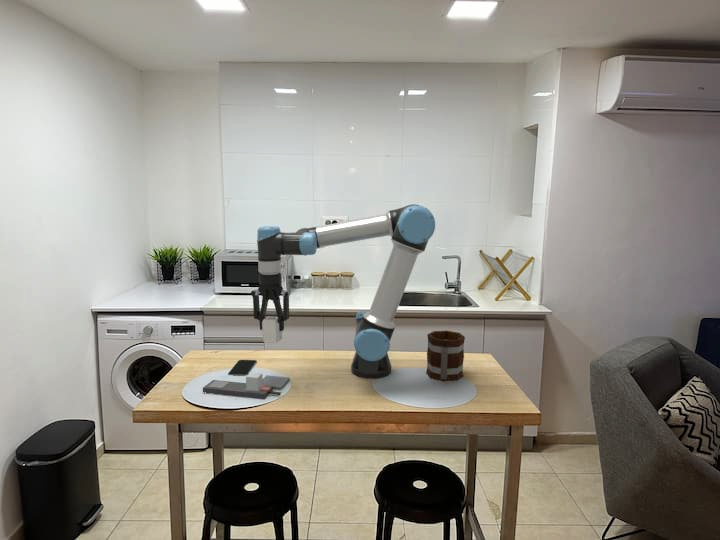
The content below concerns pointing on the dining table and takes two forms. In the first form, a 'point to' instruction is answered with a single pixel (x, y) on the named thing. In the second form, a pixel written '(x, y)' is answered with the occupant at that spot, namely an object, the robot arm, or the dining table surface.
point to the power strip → (238, 389)
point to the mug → (445, 355)
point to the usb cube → (254, 381)
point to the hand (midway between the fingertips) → (272, 339)
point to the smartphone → (242, 367)
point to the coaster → (276, 381)
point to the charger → (270, 329)
